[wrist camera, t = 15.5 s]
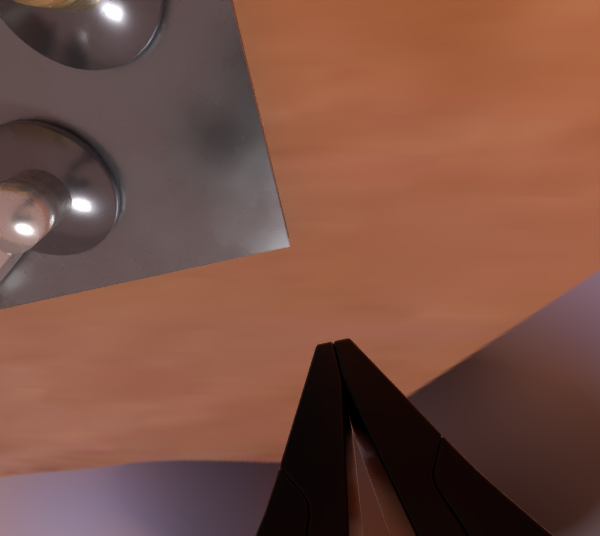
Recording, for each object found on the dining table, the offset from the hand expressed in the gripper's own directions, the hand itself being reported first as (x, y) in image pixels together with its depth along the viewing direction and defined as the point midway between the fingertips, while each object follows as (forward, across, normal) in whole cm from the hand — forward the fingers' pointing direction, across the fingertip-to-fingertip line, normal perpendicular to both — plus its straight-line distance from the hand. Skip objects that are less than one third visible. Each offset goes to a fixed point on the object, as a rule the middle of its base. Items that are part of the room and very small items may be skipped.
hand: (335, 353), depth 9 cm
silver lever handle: (+10, +11, -3) cm, 15 cm away
